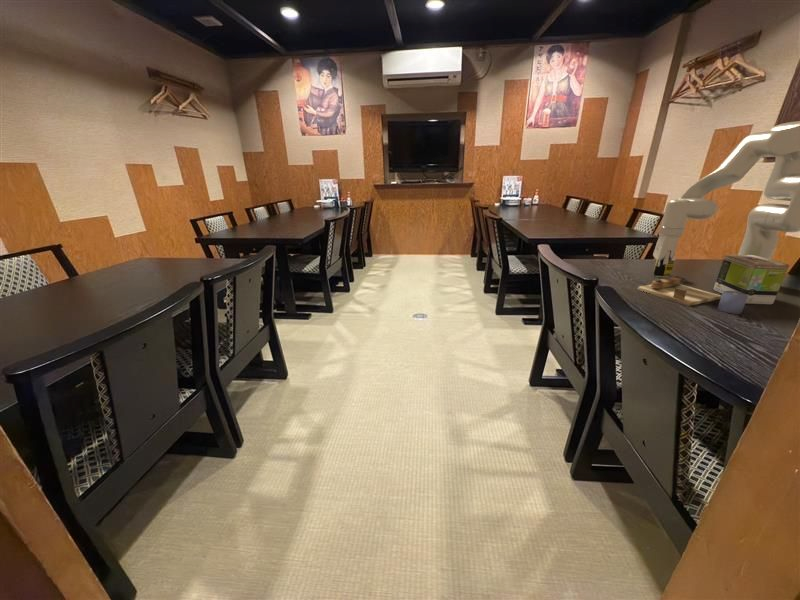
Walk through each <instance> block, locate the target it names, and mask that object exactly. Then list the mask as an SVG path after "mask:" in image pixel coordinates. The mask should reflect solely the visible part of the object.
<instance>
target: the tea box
mask: <svg viewBox="0 0 800 600" xmlns="http://www.w3.org/2000/svg"><path fill="white" fill-rule="evenodd" d="M722 260H723V261H722V263H721V266H720V269H719V271H718V274H717V277H716V279H715V283H714V287H713V291H716V292H717V293H720V294H721V295H722V294H723V292H724V291H734V292H740V293H744V294H746V295H748V298H747V300H746V303H745V304H750V305H751V304H752V305H753V304H754V305H772V304H774V303H775V300H776V297H777V295H778V293H779V291H780V288H781V285H782V284H783V282H784V279H785V277H786V275H787V272H788V270H789V267H790V264H789V263H785V262H781V261H777V260H773V259H772V258H771V259H767V258H763V257H759V256H756V255H738V254H725V255H724V256H723V259H722Z"/></svg>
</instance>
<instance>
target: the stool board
mask: <svg viewBox="0 0 800 600" xmlns="http://www.w3.org/2000/svg"><path fill="white" fill-rule="evenodd" d="M651 285H652V283H651V284H647V285H640V286H637V289H636V290H638V291H640V292H643V291H644V292H643V293H646V292H647V293H646V294H649V293H650V295H653V296H656V297H659V298H662V299H665V300H668V301H673V302H675V303H678V304H681V305H684V306H688V307H691V306H694V305H695V306H696V305H701V304H704V303H708V302H713V301H718V300H720V299H721V297H722V294H718V293H713V292H709V291H706V290H702V289H699V288H695V287H692V286H687V285H684V284H681V285H675V286H670V287H665V288H662V289H656V288H652V287H651Z"/></svg>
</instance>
